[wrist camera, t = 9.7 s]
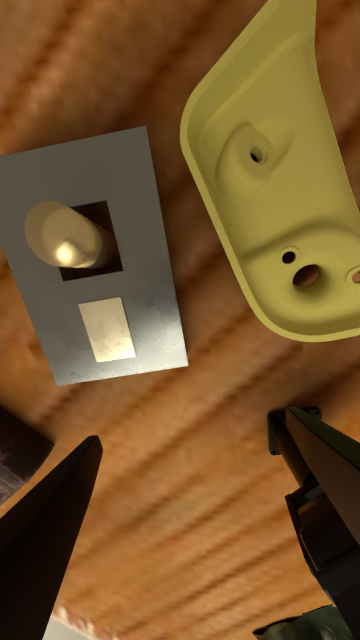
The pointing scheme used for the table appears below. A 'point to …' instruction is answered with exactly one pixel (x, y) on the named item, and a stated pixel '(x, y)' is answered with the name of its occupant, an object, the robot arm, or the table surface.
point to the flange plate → (103, 290)
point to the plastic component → (277, 176)
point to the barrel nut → (68, 237)
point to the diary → (18, 455)
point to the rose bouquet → (311, 627)
